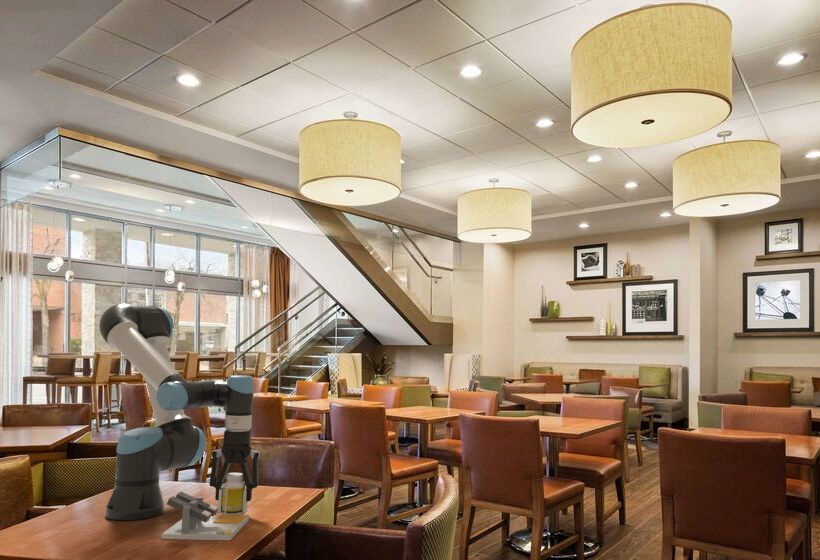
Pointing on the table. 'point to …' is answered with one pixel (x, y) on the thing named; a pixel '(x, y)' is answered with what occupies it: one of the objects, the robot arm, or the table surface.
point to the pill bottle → (233, 494)
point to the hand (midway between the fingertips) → (232, 512)
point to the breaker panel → (205, 526)
